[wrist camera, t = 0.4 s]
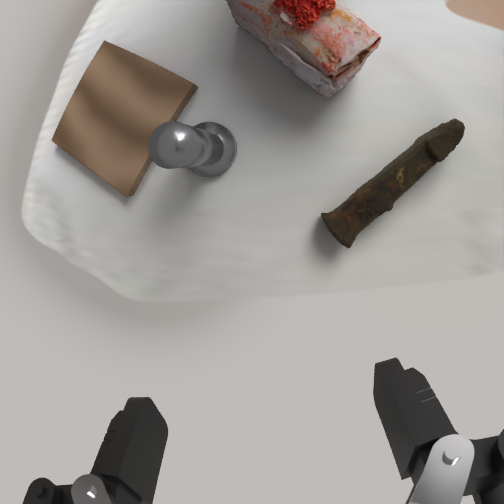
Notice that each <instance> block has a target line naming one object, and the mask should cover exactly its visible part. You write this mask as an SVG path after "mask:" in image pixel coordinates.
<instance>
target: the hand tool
mask: <svg viewBox="0 0 504 504" xmlns="http://www.w3.org/2000/svg"><path fill="white" fill-rule="evenodd" d="M464 130H465V126H464V124H463V123H462V122H461V121H459V120H457V119H452V120H450V121H449V122H447V123H442V124H440V125H439V126H438V127H436V128H433V129H432V130H430V131H429V132H427V133H425V134H424V135H422V136H420V137H418V139H417V140H416V141H415V143H414V144H413V145H412V146H411V147H409V148H408V149H407V150H406V151H405V152H403V153H402V154H401V155H399V156H398V157H397V158H396V159H395V160H393V161H392V162H391V163H390V164H388V165H387V166H386V167H385V168H384V169H383V170H382V171H381V172H379V173H378V174H377V175H376V176H375V177H374V178H372V179H370V180H369V181H368V182H367V183H365V184H364V185H362V186H361V187H360V188H359V189H357V190H356V192H355V193H354V194H352V195H351V196H350V197H349V198H348V199H347V200H346V201H345V202H343V203H342V204H341V205H340V206H339V207H337V208H336V209H335V210H333V211H332V212H329V213H321V217H322V218H323V221H324V222H325V224H326V226H327V228H328V229H329V231H330V232H331V233H332V234H333V236H334V237H335V238H336V239H337V240H338V241H339V242H340V243H341V244H342V245H344V246H345V247H347V248H350V247H351V245H352V243H353V241H354V240H355V238H356V236H357V235H358V234H359V232H360V231H362V230H363V229H364V228H365V227H366V226H368V225H369V224H370V223H371V222H372V221H373V220H374V219H375V218H377V217H378V216H380V215H382V214H383V213H384V212H386V211H390V210H391V209H392V208H393V204H394V202H395V201H396V200H397V199H398V198H399V197H400V196H401V195H402V194H403V193H405V192H406V191H407V190H408V189H409V188H410V187H411V186H412V185H413V184H414V183H415V182H416V181H418V180H419V179H420V178H421V177H422V176H423V175H424V174H425V173H426V172H427V171H428V170H429V169H430V168H431V167H432V166H434V165H435V164H436V163H437V162H441V161H442V160H444V159H445V158H446V157H447V156H448V154H449V153H450V152H451V151H453V150H454V149H455V147H456V145H458V144H459V142H460V141H461V139H462V137H463V134H464Z"/></svg>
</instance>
